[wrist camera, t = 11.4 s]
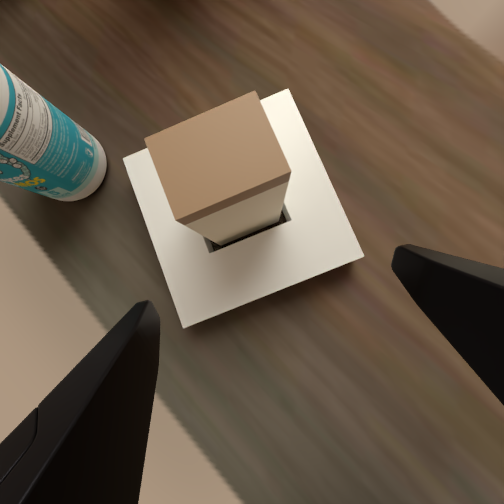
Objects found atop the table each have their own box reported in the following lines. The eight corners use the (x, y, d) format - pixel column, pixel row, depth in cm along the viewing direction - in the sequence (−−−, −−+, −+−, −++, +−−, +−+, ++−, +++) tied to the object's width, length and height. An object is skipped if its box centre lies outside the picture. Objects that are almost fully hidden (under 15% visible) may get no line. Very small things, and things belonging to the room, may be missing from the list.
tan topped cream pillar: (278, 221, 22) (291, 171, 11) (220, 245, 22) (175, 220, 11) (260, 179, 22) (255, 90, 11) (204, 203, 22) (144, 138, 11)
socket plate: (352, 258, 21) (364, 256, 18) (192, 321, 21) (183, 328, 19) (285, 108, 23) (288, 88, 20) (138, 170, 23) (122, 158, 20)
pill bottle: (30, 189, 24) (-283, 81, 10) (60, 125, 24) (-204, -62, 10) (93, 214, 23) (-153, 134, 9) (122, 147, 23) (-74, -20, 10)
